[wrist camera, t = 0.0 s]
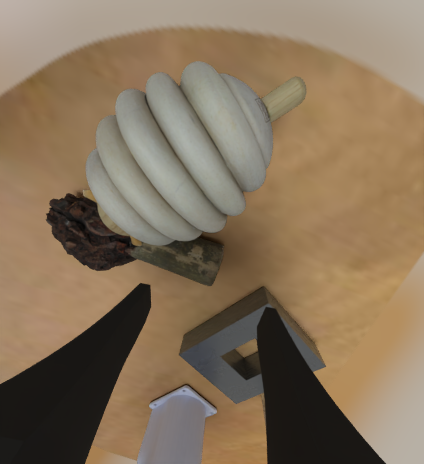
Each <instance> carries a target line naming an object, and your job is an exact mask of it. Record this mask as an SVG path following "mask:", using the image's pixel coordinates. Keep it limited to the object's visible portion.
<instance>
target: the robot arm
mask: <svg viewBox="0 0 424 464" xmlns="http://www.w3.org/2000/svg"><path fill="white" fill-rule="evenodd" d="M150 308H151V291H150V285H148V284H142V283H140V284H139V285H138V286H137V287H136V288H135V289H134V290H133V291H132V292H130V293H129V294H128V295H127V296H126V297H125V298H124V299H123V300H122V301H121V302H120V303H119V304H117V305H116V306H115V307H114V308H113V309H112V310H111V311H109V312H108V313H107V314H106V315H105V316H103V317H102V318H101V319H100V320H98V321H97V322H96V323H95V324H94V325H92V326H91V327H90V328H88V329H87V330H86V331H84V332H83V333H82V334H80V335H79V336H77V337H76V338H75V339H73V340H72V341H70V342H69V343H67V344H66V345H64V346H63V347H62V348H60V349H59V350H57V351H56V352H54V353H52V354H51V355H49V356H48V357H46V358H45V359H43V360H41V361H40V362H38V363H36V364H35V365H33V366H31V367H30V368H28V369H26V370H25V371H23V372H21V373H20V374H18V375H16V376H14V377H13V378H11V379H9V380H7V381H5V382H4V383H2V384H0V464H85V462H86V459H87V456H88V453H89V450H90V448H91V445H92V443H93V440H94V437H95V435H96V432H97V429H98V427H99V424H100V422H101V419H102V416H103V414H104V411H105V409H106V406H107V404H108V401H109V399H110V396H111V394H112V391H113V389H114V386H115V384H116V381H117V379H118V377H119V374H120V372H121V370H122V367H123V365H124V363H125V361H126V359H127V357H128V355H129V353H130V351H131V349H132V347H133V345H134V344H135V342H136V340H137V338H138V336H139V334H140V332H141V330H142V328H143V326H144V324H145V321H146V319H147V316H148V314H149V311H150ZM257 346H258V354H259V361H260V368H261V375H262V382H263V389H264V399H265V415H266V434H267V461H268V464H386V463H385V462H384V461H383V460H382V459H381V458H380V457H379V456H378V454H377V453H376V452H375V451H374V450H373V449H372V448H371V446H370V445H369V444H368V443H367V442H366V441H365V439H364V438H363V437H362V436H361V435H360V434H359V432H358V431H357V430H356V429H355V427H354V426H353V425H352V424H351V422H350V421H349V420H348V419H347V418H346V416H345V415H344V414H343V413H342V411H341V410H340V409H339V408H338V406H337V405H336V404H335V402H334V401H333V400H332V398H331V397H330V396H329V394H328V393H327V392H326V390H325V389H324V387H323V386H322V385H321V383H320V382H319V380H318V379H317V378H316V376H315V375H314V373H313V372H312V370H311V369H310V367H309V365H308V364H307V362H306V361H305V359H304V358H303V356H302V354H301V353H300V351H299V349H298V348H297V346H296V344H295V343H294V341H293V339H292V337H291V336H290V334H289V332H288V330H287V328H286V327H285V325H284V323H283V321H282V319H281V317H280V315H279V313H278V311H277V310H276V309H275V308H270V307H265V309H264V312H263V314H262V316H261V318H260V321H259V323H258V325H257ZM149 407H150V408H151V409H152V413H151V416H150V419H149V422H148V425H147V429H146V432H145V435H144V438H143V442H142V445H141V448H140V451H139V455H138V460H137V464H201V461H202V450H203V439H204V427H205V418H206V417H209V416H211V415H213V414H216V413H217V409H216V408H215V407H213V406H212V405H211V404H210V403H208V402H207V401H206V400H205V399H204V398H202V397H201V396H200V395H199V394H197V393H196V392H195V391H194V390H193V389H191V388H190V387H189V386H187V385H185V386H183V387H181V388H179V389H177V390H175V391H173V392H171V393H169V394H167V395H165V396H163V397H161V398H159V399H157V400H155V401H153V402H151V403H150V405H149Z"/></svg>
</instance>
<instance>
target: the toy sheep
mask: <svg viewBox="0 0 424 464" xmlns="http://www.w3.org/2000/svg"><path fill="white" fill-rule="evenodd" d="M305 96H306V85H305V83H304V81H303V79H302V78H300V77H293V78H291V79H289V80H288V81H287V82H285V83H284V84H282V85H281V86H279V87H278V88H276V89H275V90H273V91H272V92H270V93H269V94H267V95H266V96H264V97H263V98H262V99H260V98H259V97H258V96H257V94H256V93H255V92H254V91H253V90H252V89H251V88H250V87H249V86H248V85H246V84H245V83H244V82H242V81H240V80H239V79H237V78H235V77H233V76H230V75H227V74H218V73H217V71H216V70H215V69H214V68H213V67H212V66H210V65H209V64H207V63H204V62H199V61H198V62H193V63H191V64H189V65H188V66H187V67H186V68H185V69H184V71H183V73H182V76H181V85H180V86H178V85H177V84H176V82H175V81H174V80H173V79H172V78H171V77H170V76H169V75H168V74H165V73H163V72H158V73H155V74H154V75H152V76H151V77H150V78H149V79H148V81H147V84H146V94H145V93H144V92H142V91H140V90H137V89H127V90H124V91H123V92H122V93H121V94H120V95H119V96H118V98H117V101H116V108H115V110H116V115H110V116H107V117H105V118H103V119H102V120H101V121H100V123H99V124H98V127H97V131H96V145H97V148H96V149H94V150H93V151H92V152H91V153H90V154H89V156H88V159H87V162H86V176H87V180H88V184H89V187H90V189H91V190H83V195H84V196H85V197H87V198H88V199H90V200H92V201H94V202H96V203H97V206H98V212H99V215H100V217H101V219H102V221H103V223H104V224H105V225H106V226H107V227H108V228H109V229H110V230H112V231H113V232H115V233H117V234H120V235H124V236H130V238H131V241H132V244H133V245H136V246H142V242H144V243H147V244H151V245H157V246H162V245H167V244H170V243H172V242H173V241H175V240H178V241H191V240H194V239H196V238H197V237H199V236H200V235H201V234H202V232H203V231H204V232H209V233H215V232H219V231H220V230H222V229H223V228H224V226H225V224H226V221H227V215H230V216H236V215H239V214H241V213H242V212H243V211H244V209H245V206H246V201H245V198H244V195H243V193H242V192H243V191H246V192H252V191H255V190H257V189H258V188H260V187H261V186H262V184H263V183H264V180H265V177H266V168H267V167H268V166H269V163H270V160H271V156H272V148H273V133H272V127H271V122H273V121H274V120H276V119H278V118H279V117H281V116H282V115H284V114H285V113H287V112H289V111H290V110H292V109H293V108H295V107H296V106H298V105H299V104H301V103H302V101H303V100H304V99H305ZM141 241H142V242H141Z"/></svg>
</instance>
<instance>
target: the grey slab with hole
mask: <svg viewBox="0 0 424 464" xmlns="http://www.w3.org/2000/svg"><path fill="white" fill-rule="evenodd" d="M265 307H270V308H275V309H276V310H277V311H278V313H279V315H280V317H281V319H282V321H283V323H284V325H285V327H286V328H287V330H288V332H289V334H290V336H291V337H292V339H293V341H294V343H295V344H296V346H297V348H298V349H299V351H300V353H301V354H302V356H303V358H304V359H305V361H306V362H307V364H308V365H309V367H310V369H311V370H312V372H314V371H316V370H319V369H321V368H324V367H326V365H325V363H324V361H323V359H322V357H321V355H320V353H319V351H318V349H317V347H316V345H315V344H314V342H313V341H312V340H311V339H310V338H309V337H308V336H307V334H306V333H305V332H304V331H303V330H302V329H301V328H300V327H299V325H298V324H297V323H296V322H295V321H294V320H293V319H292V318H291V316H290V315H289V314H288V313H287V312H286V311H285V310H284V309H283V307H282V306H281V305H280V304H279V303H278V302H277V301H276V299H275V298H274V297H273V296H272V295H271V294H270V293H269V292H268V290H267V289H266V288H265V287H264V286H263V287H262V288H260V289H259V290H257V291H255V292H254V293H252V294H250V295H249V296H247V297H246V298H244V299H242V300H241V301H239V302H237V303H236V304H234V305H232V306H231V307H229V308H228V309H226V310H224V311H223V312H221V313H219V314H218V315H216V316H215V317H213V318H211V319H210V320H208V321H206V322H205V323H203V324H201V325H200V326H198V327H197V328H195V329H193V330H192V331H190V332H188V333H187V334H185V335H184V337H183V341H182V345H181V349H180V353H179V355H180V356H181V357H182V358H183V359H184V360H185V361H187V362H188V363H189V364H190V365H191V366H192V367H194V368H195V369H196V370H197V371H198V372H199V373H201V374H202V375H203V376H204V377H205V378H206V379H208V380H209V381H210V382H211V383H212V384H213V385H215V386H216V387H217V388H218V389H219V390H220V391H221V392H223V393H224V394H225V395H226V396H227V397H228V398H230V399H231V400H232V401H233V402H234V403H235V404H237V403H240V402H242V401H245V400H247V399H249V398H252V397H254V396H257V395H259V394H261V393H264V389H263V382H262V375H261V368H260V361H259V354H258V352H256V353H254V354H252V355H250V356H248V357H246V358H243V357H242V356H241V355H240V354H239V353H238V352H237V351H236V350H235V348H237V347H239V346H241V345H243V344H245V343H246V342H248V341H250V340H252V339H254V338H255V339H256V340H257V325H258V323H259V321H260V318H261V316H262V314H263V312H264V309H265Z"/></svg>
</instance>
